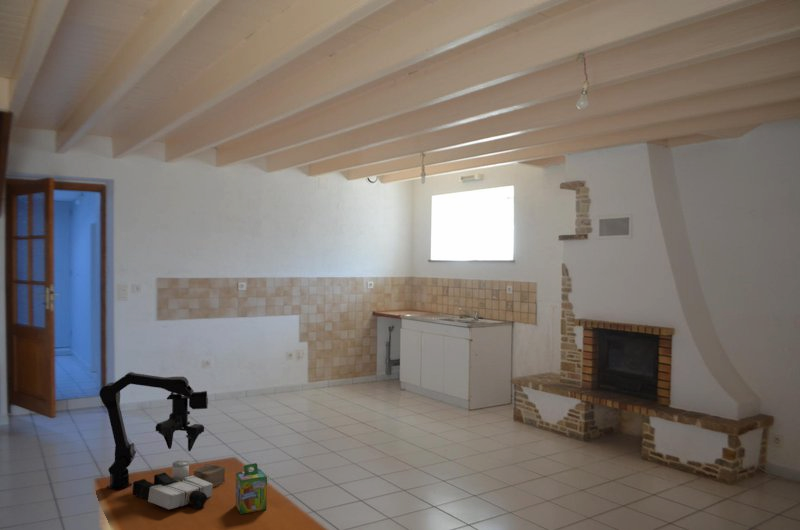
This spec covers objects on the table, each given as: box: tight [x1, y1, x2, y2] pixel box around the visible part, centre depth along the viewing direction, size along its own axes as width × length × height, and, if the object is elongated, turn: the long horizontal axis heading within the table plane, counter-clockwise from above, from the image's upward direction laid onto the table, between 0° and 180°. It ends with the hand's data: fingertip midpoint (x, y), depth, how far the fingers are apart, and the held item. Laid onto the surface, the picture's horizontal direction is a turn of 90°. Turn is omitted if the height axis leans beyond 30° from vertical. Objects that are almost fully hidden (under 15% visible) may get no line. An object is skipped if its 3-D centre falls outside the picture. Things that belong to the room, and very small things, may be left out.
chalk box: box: [235, 462, 268, 515], centre depth 202 cm, size 9×9×15 cm
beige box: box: [193, 463, 226, 488], centre depth 224 cm, size 8×8×6 cm
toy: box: [132, 471, 213, 510], centre depth 209 cm, size 19×7×30 cm
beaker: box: [171, 459, 190, 481], centre depth 230 cm, size 6×6×6 cm
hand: (179, 449), depth 226 cm, fingers open, 9 cm apart
